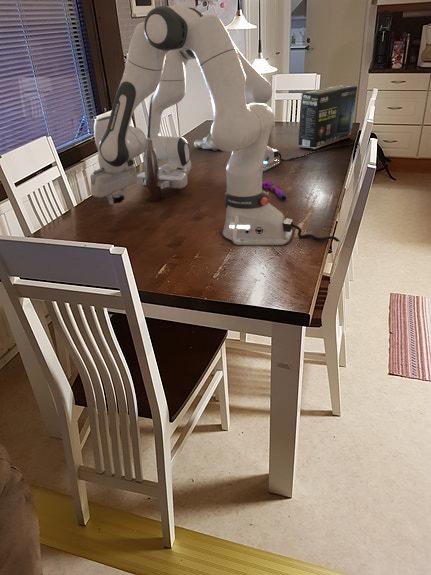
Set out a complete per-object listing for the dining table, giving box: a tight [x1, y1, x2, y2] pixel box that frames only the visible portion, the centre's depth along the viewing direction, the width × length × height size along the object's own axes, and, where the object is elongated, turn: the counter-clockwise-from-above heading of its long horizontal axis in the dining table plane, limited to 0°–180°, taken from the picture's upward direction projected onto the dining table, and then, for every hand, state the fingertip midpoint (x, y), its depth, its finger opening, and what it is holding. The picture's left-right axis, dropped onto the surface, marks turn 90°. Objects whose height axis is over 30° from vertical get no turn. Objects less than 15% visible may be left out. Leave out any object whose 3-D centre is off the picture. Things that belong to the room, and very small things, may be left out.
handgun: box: [262, 180, 287, 202], centre depth 181 cm, size 21×8×2 cm, turn 11°
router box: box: [297, 84, 358, 151], centre depth 238 cm, size 36×11×27 cm, turn 134°
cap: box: [111, 193, 124, 204], centre depth 168 cm, size 4×4×2 cm
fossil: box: [193, 132, 219, 152], centre depth 245 cm, size 18×11×15 cm
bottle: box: [142, 137, 162, 202], centre depth 174 cm, size 5×5×23 cm
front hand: (117, 201), depth 169 cm, fingers closed on cap, 4 cm apart
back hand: (152, 186), depth 177 cm, fingers closed on bottle, 5 cm apart
